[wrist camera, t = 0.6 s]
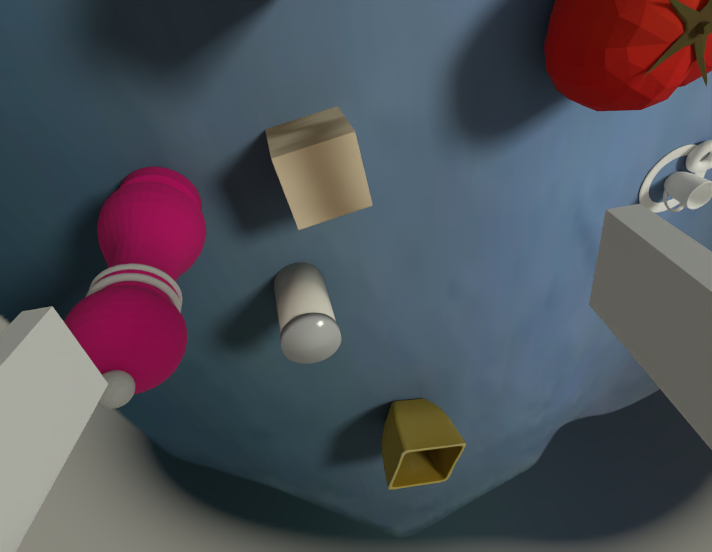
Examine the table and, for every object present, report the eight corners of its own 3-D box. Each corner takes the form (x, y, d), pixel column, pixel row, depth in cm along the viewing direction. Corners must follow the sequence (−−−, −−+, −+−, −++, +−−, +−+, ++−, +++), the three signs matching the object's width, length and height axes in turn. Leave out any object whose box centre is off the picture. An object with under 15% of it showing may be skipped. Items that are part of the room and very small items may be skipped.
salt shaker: (277, 259, 41) (287, 318, 35) (329, 264, 43) (348, 322, 36) (268, 300, 44) (276, 363, 37) (317, 304, 46) (332, 364, 39)
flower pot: (382, 391, 58) (403, 452, 51) (440, 387, 60) (468, 444, 54) (369, 430, 63) (387, 490, 56) (423, 424, 65) (447, 481, 59)
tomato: (580, 112, 39) (679, 159, 31) (488, 54, 34) (576, 92, 26) (683, -33, 34) (840, -24, 25) (592, -127, 29) (750, -156, 20)
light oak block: (289, 194, 37) (298, 229, 33) (265, 129, 34) (271, 158, 29) (354, 173, 38) (372, 205, 33) (337, 105, 34) (355, 131, 29)
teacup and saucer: (713, 123, 44) (750, 137, 41) (710, 182, 49) (743, 198, 46) (633, 170, 45) (663, 186, 42) (638, 222, 50) (665, 241, 47)
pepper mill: (222, 185, 35) (219, 370, 20) (188, 251, 38) (162, 457, 23) (128, 143, 32) (38, 329, 16) (99, 219, 35) (-2, 438, 19)
